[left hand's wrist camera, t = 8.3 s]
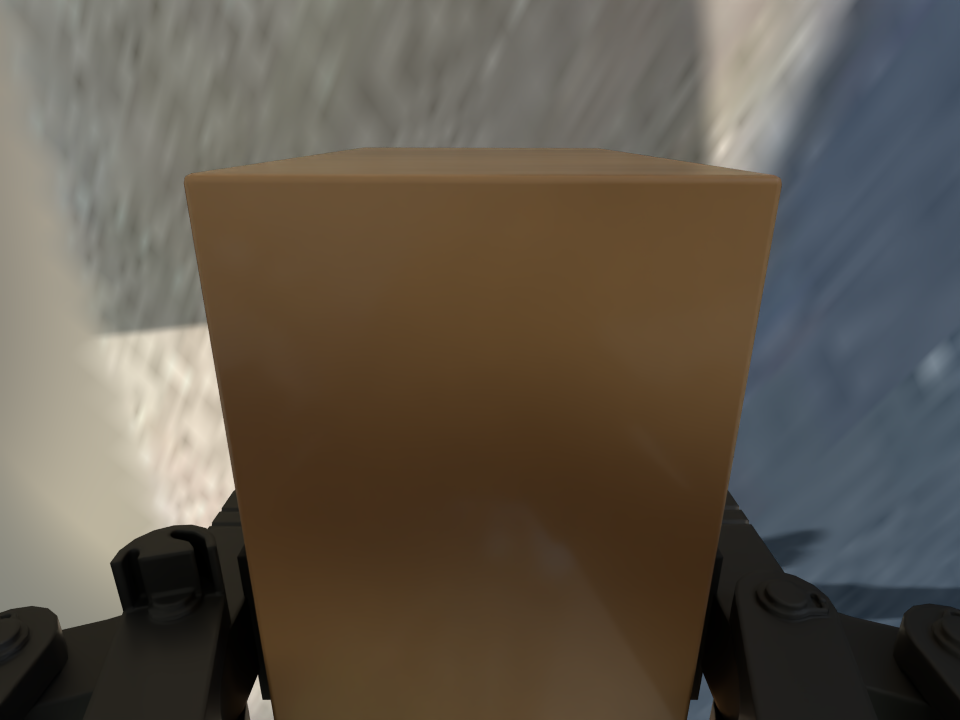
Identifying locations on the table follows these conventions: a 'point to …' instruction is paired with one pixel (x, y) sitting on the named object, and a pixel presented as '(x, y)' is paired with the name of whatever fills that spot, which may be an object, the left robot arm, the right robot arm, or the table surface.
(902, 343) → the table surface
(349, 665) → the beam
